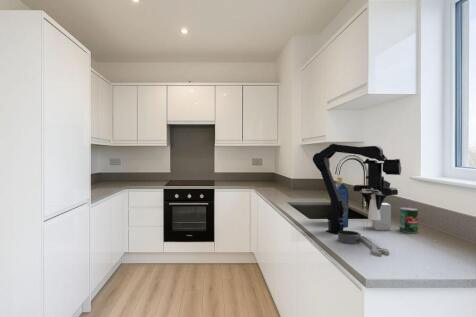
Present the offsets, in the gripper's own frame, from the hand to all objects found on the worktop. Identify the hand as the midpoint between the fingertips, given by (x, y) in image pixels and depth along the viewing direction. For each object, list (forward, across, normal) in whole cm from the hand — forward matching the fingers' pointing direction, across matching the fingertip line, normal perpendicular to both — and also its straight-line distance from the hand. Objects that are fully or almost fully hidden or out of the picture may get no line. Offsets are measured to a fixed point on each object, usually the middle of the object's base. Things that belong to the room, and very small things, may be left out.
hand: (374, 209), depth 138 cm
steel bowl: (+13, +2, +14) cm, 19 cm away
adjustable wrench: (+14, -8, +12) cm, 20 cm away
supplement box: (+13, +10, -19) cm, 25 cm away
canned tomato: (+13, 0, -26) cm, 29 cm away
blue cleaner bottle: (+13, +27, -8) cm, 31 cm away
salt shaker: (+5, 0, 0) cm, 5 cm away
